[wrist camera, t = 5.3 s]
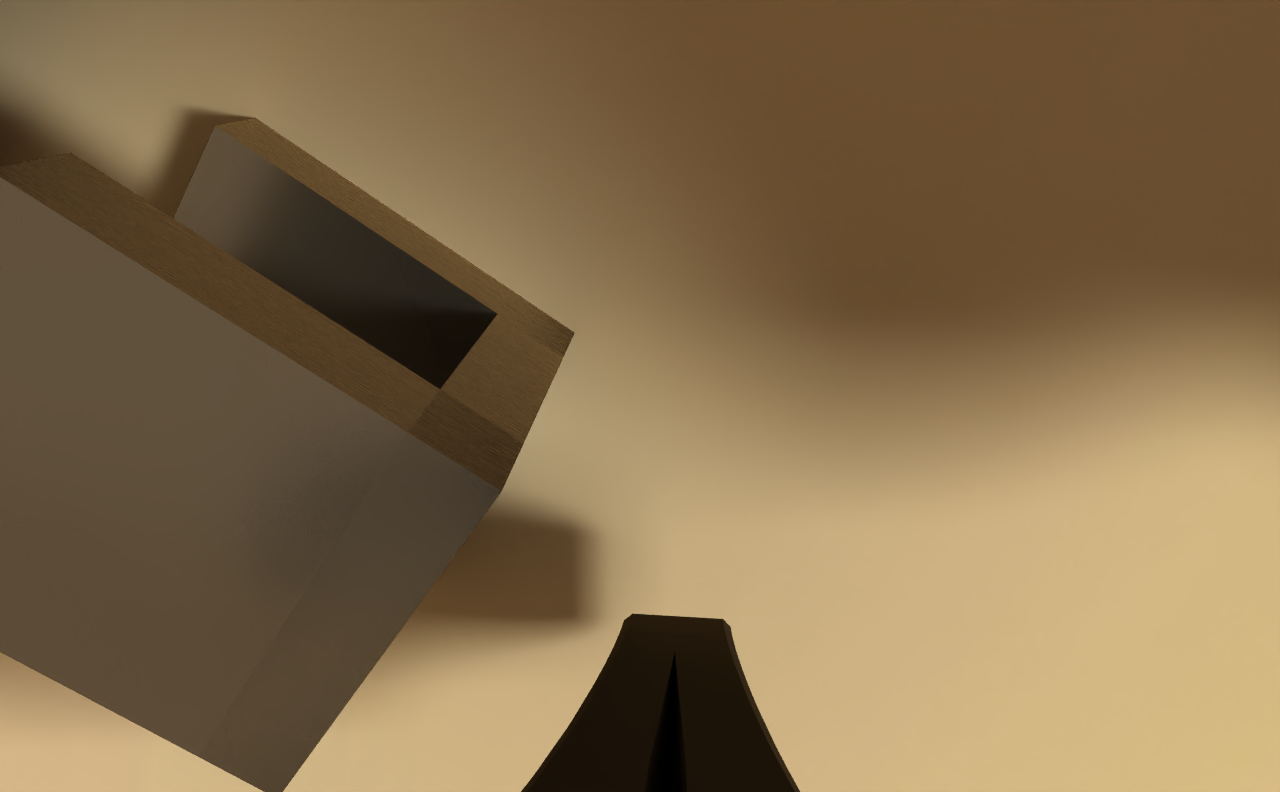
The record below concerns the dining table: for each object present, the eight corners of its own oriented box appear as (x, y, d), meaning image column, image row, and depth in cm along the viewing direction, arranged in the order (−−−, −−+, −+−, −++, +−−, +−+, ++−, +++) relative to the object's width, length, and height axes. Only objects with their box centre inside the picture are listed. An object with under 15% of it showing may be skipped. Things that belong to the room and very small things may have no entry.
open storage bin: (574, 332, 12) (501, 491, 8) (408, 569, 14) (277, 799, 10) (256, 117, 11) (-13, 168, 7) (124, 399, 13) (-152, 571, 9)
